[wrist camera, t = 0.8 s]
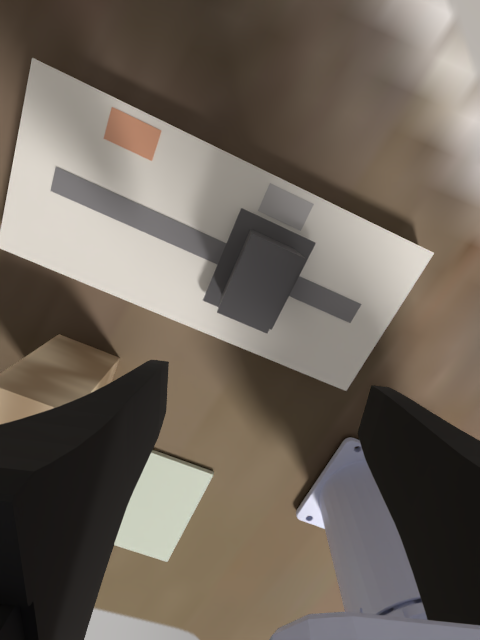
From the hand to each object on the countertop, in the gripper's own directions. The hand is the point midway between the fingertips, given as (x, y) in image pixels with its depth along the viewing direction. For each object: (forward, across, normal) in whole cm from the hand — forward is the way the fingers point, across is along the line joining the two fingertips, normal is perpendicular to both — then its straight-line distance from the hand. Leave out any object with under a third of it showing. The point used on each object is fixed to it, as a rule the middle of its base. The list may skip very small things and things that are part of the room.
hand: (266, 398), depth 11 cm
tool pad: (+9, +8, +16) cm, 19 cm away
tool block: (+9, +11, +5) cm, 15 cm away
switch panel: (+9, +3, -4) cm, 10 cm away
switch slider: (+7, +1, -3) cm, 8 cm away
